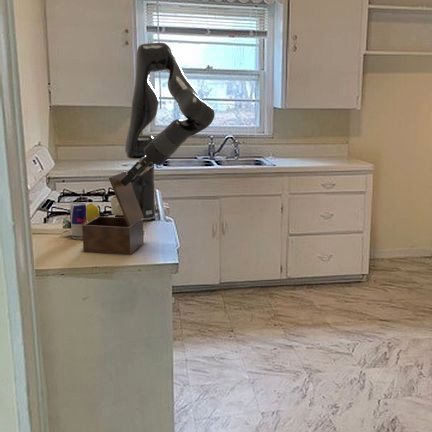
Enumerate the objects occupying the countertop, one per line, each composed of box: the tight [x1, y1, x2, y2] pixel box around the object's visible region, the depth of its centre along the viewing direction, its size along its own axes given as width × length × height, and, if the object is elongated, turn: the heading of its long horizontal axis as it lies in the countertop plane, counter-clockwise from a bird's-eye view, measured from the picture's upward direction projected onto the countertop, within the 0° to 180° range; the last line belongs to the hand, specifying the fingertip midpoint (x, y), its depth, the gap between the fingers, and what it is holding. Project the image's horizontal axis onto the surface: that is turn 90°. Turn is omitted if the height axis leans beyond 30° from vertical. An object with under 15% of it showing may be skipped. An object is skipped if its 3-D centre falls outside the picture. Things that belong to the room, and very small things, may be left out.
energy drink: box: [69, 202, 88, 240], centre depth 199 cm, size 5×5×12 cm
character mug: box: [110, 194, 125, 218], centre depth 209 cm, size 11×7×13 cm, turn 176°
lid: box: [108, 171, 144, 227], centre depth 186 cm, size 16×13×5 cm
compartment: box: [82, 215, 145, 255], centre depth 190 cm, size 16×13×9 cm
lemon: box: [86, 202, 100, 222], centre depth 219 cm, size 6×6×8 cm
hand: (126, 182), depth 185 cm, fingers closed on lid, 5 cm apart
